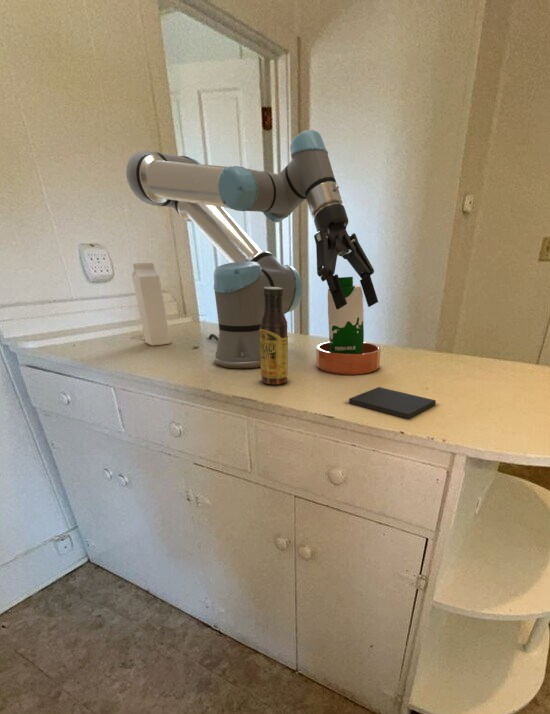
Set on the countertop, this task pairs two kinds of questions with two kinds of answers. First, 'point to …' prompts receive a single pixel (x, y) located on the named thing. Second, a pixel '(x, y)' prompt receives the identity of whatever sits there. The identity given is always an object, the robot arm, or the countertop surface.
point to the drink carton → (347, 320)
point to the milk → (150, 304)
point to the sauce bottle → (273, 339)
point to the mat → (392, 402)
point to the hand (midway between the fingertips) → (358, 305)
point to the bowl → (348, 360)
